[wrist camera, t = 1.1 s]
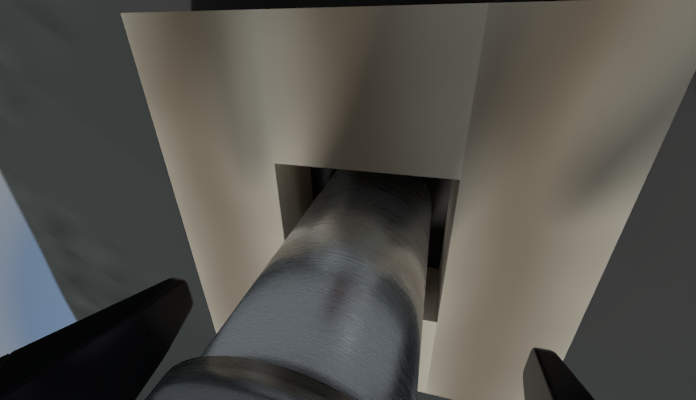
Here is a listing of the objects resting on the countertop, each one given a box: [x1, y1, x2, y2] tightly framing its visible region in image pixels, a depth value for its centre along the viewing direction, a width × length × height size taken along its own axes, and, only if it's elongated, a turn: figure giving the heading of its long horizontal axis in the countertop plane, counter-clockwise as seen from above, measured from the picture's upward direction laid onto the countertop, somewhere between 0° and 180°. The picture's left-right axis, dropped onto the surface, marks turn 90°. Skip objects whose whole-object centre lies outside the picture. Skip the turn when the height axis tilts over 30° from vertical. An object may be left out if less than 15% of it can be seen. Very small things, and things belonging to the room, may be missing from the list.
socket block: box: [121, 0, 696, 400], centre depth 12 cm, size 14×14×3 cm
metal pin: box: [145, 169, 432, 400], centre depth 9 cm, size 5×5×10 cm
